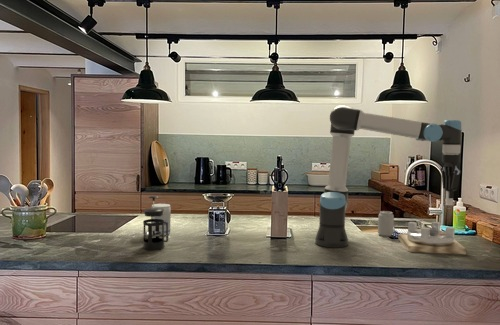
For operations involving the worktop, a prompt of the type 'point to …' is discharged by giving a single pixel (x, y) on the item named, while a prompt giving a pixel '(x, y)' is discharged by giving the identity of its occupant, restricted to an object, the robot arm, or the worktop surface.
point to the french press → (155, 242)
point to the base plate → (431, 247)
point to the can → (385, 223)
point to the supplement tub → (163, 216)
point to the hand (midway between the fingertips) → (449, 205)
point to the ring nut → (430, 235)
